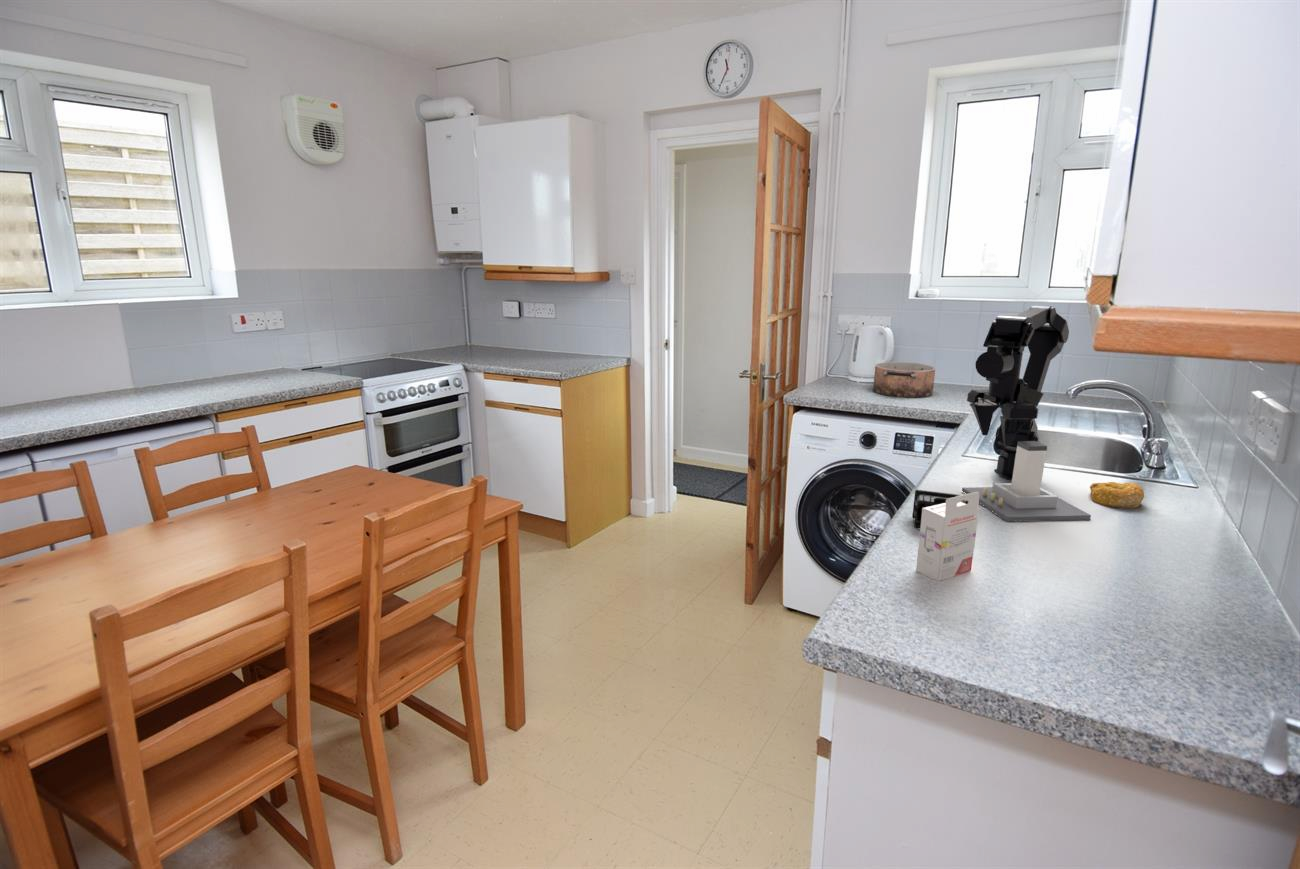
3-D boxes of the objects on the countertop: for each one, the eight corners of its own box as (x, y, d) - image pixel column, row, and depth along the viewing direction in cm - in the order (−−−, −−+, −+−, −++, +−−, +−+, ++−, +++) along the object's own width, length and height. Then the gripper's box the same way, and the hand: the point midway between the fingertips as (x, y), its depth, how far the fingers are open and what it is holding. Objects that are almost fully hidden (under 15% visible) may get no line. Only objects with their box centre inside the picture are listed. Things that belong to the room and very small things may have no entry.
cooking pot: (925, 402, 250) (929, 374, 247) (865, 396, 261) (867, 369, 258) (937, 389, 275) (940, 363, 272) (881, 384, 286) (883, 359, 283)
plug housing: (1026, 497, 149) (1035, 441, 145) (1037, 503, 145) (1047, 446, 142) (1009, 497, 149) (1017, 441, 145) (1020, 504, 145) (1029, 446, 141)
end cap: (964, 522, 137) (968, 491, 136) (965, 535, 131) (970, 503, 129) (912, 515, 141) (915, 485, 139) (911, 528, 135) (914, 496, 133)
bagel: (1119, 493, 155) (1122, 473, 154) (1153, 511, 145) (1158, 490, 143) (1076, 493, 155) (1079, 474, 154) (1108, 511, 144) (1112, 491, 143)
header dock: (1036, 490, 156) (1038, 476, 155) (1090, 519, 139) (1093, 503, 138) (961, 491, 155) (963, 477, 154) (1006, 521, 138) (1008, 505, 137)
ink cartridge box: (947, 560, 120) (957, 482, 116) (971, 571, 116) (983, 491, 112) (913, 570, 116) (923, 490, 112) (937, 582, 112) (948, 499, 108)
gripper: (1067, 380, 141) (1055, 451, 145) (1015, 366, 159) (1006, 429, 163) (1016, 380, 140) (1006, 452, 144) (970, 366, 158) (961, 430, 162)
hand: (995, 440), depth 153 cm, fingers open, 9 cm apart
